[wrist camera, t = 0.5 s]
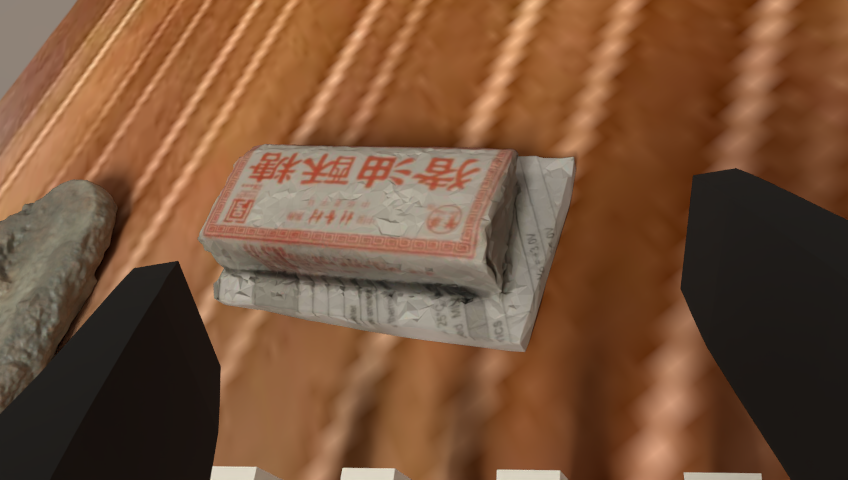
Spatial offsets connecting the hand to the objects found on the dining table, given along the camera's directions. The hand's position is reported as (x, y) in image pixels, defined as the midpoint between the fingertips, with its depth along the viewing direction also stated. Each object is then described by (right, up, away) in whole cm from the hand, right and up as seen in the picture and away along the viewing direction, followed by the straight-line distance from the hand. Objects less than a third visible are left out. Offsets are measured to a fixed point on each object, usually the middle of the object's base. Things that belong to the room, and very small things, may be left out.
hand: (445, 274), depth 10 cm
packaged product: (-2, 0, +28) cm, 28 cm away
